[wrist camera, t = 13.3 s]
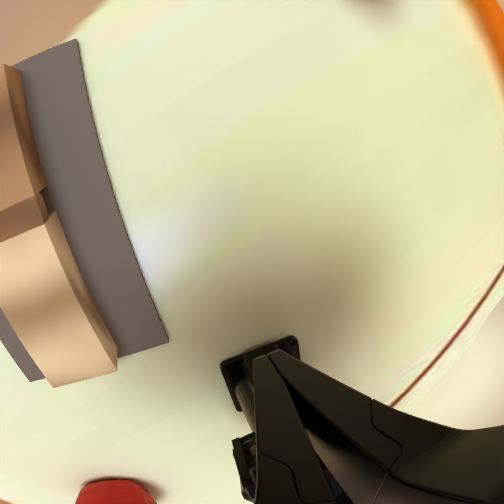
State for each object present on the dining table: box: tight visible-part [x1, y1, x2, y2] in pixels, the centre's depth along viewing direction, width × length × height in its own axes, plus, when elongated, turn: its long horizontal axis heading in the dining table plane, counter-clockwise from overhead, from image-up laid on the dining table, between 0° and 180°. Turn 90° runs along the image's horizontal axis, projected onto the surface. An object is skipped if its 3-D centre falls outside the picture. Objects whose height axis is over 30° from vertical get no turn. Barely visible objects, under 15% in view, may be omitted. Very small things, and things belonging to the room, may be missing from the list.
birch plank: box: [0, 194, 117, 388], centre depth 16 cm, size 11×5×2 cm, turn 12°
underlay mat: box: [0, 39, 169, 382], centre depth 16 cm, size 20×12×1 cm, turn 12°
